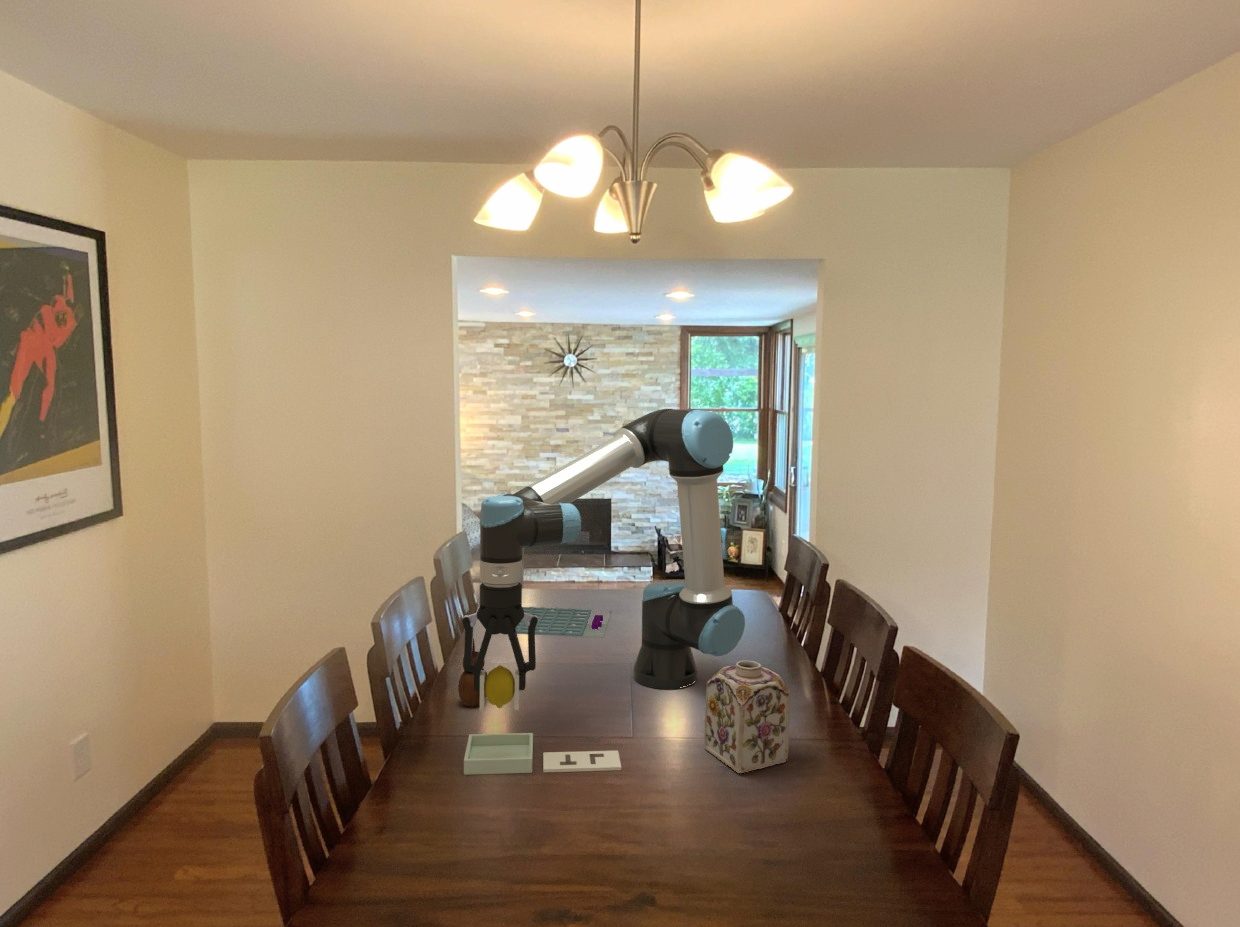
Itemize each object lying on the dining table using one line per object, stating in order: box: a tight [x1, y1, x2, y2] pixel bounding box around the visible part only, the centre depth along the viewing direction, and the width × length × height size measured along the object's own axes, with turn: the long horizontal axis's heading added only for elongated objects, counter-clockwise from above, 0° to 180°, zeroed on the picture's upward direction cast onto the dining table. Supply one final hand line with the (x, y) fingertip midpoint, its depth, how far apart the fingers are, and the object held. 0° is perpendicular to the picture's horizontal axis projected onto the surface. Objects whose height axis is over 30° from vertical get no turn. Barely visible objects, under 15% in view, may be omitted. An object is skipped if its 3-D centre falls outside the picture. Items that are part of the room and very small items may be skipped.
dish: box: [463, 732, 534, 776], centre depth 142 cm, size 12×10×3 cm
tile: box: [542, 750, 622, 773], centre depth 142 cm, size 14×6×1 cm, turn 96°
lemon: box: [485, 664, 515, 709], centre depth 141 cm, size 6×6×8 cm
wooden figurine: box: [457, 637, 488, 708], centre depth 167 cm, size 7×6×15 cm
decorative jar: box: [703, 660, 791, 774], centre depth 145 cm, size 12×12×18 cm
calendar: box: [515, 606, 609, 638], centre depth 228 cm, size 27×29×2 cm
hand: (499, 706), depth 141 cm, fingers closed on lemon, 5 cm apart
